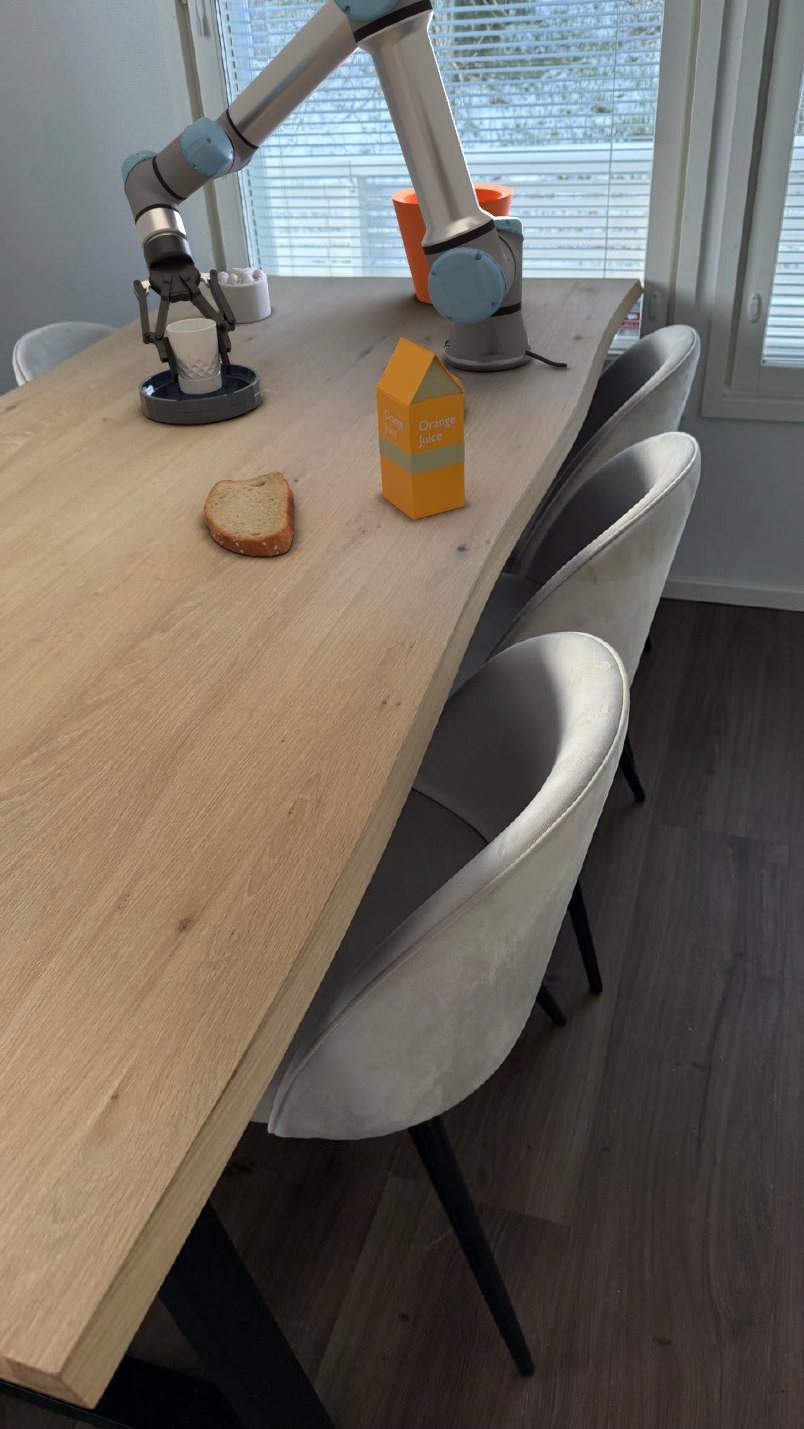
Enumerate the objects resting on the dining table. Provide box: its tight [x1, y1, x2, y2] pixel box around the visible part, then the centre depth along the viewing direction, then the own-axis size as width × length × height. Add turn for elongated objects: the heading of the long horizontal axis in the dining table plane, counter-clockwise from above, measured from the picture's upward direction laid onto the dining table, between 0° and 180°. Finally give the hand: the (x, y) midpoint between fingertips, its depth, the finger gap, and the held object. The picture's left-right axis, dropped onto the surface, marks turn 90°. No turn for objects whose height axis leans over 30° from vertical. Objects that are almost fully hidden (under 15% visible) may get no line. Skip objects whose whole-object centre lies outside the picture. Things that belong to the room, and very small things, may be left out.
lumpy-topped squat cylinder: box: [217, 266, 272, 324], centre depth 208 cm, size 10×13×9 cm
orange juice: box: [375, 335, 466, 521], centre depth 124 cm, size 8×9×20 cm
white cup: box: [165, 317, 222, 394], centre depth 160 cm, size 8×8×10 cm
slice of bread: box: [203, 470, 295, 557], centre depth 127 cm, size 18×18×4 cm
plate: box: [137, 362, 264, 425], centre depth 164 cm, size 20×20×4 cm
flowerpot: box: [391, 182, 515, 305], centre depth 210 cm, size 25×25×20 cm
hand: (202, 374), depth 159 cm, fingers closed on white cup, 8 cm apart
